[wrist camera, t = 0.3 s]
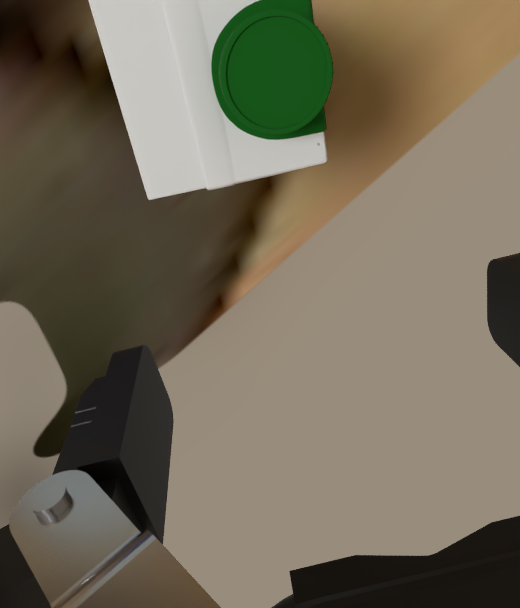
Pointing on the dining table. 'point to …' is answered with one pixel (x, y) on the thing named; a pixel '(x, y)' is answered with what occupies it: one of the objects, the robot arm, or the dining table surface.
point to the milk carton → (217, 88)
